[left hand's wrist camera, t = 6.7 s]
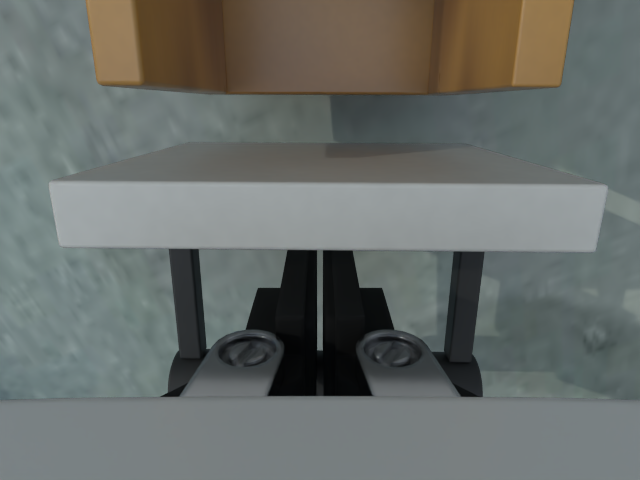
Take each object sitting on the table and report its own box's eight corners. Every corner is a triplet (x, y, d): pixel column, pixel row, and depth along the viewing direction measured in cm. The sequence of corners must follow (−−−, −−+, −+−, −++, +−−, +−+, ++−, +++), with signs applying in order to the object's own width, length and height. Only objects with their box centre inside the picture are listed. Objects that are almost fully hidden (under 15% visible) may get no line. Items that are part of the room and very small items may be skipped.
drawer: (448, 334, 17) (544, 518, 9) (203, 331, 17) (104, 510, 9) (520, -382, 11) (938, -1426, 3) (144, -376, 11) (-237, -1371, 4)
